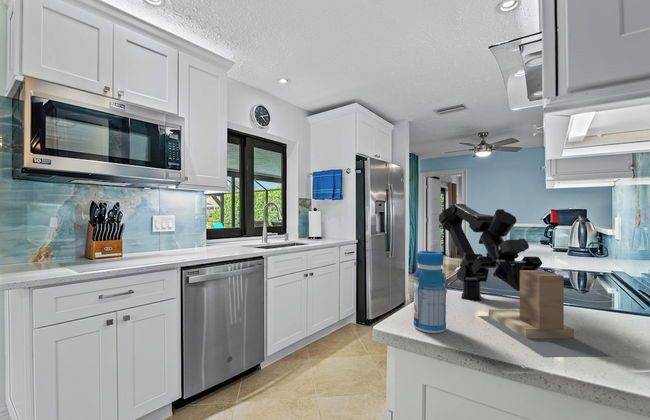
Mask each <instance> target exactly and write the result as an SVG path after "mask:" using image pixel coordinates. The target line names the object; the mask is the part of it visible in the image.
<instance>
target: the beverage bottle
mask: <svg viewBox="0 0 650 420" xmlns="http://www.w3.org/2000/svg"><path fill="white" fill-rule="evenodd" d="M444 259H445V258H444V253H443V252H440V251H433V250H420V251H417V252H416V264H417V265H418V267H417V268H416V270H415V272H414V273H413V274H414V275H413V280H414V283H413V285H412V290H413V326H414V328H415V329H416V330H418V331H420V332H424V333H428V334H440V333H443V332H445V331H446V330H447V322H446V320H447V319H446V318H447V317H446V315H447V313H446V312H447V311H446V310H447V292H448V289H447V285H446V282H447V277H446V274H445V272H444V270H443V269H442V267H443V266H444V262H445V261H444Z"/></svg>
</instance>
